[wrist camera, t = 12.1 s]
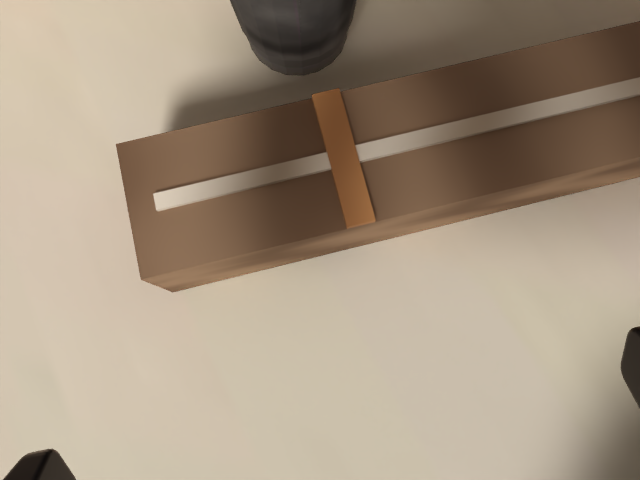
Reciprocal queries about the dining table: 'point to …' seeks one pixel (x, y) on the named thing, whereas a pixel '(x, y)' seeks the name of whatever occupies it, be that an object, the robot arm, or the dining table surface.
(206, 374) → the dining table surface
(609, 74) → the slotted wooden bar
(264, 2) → the beverage cup
